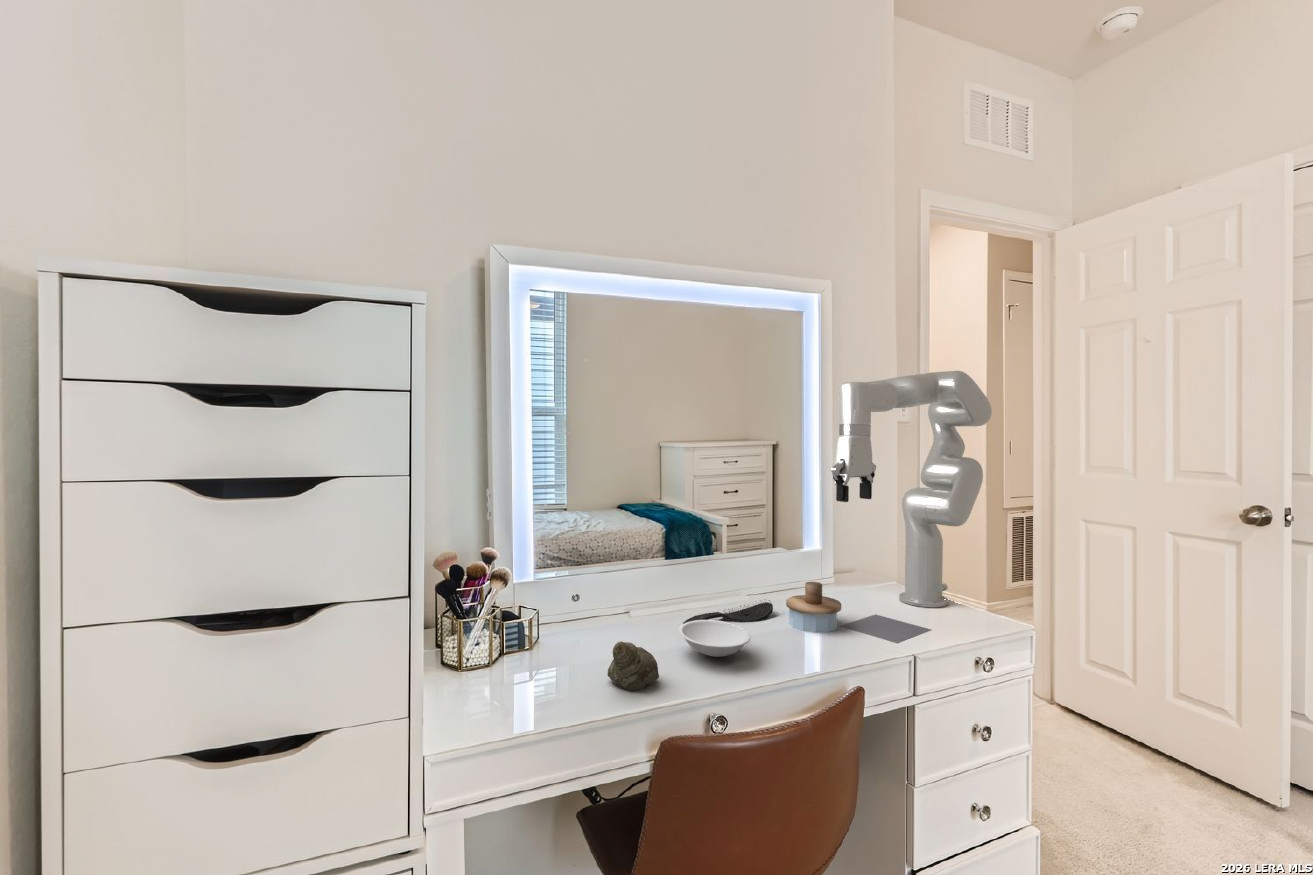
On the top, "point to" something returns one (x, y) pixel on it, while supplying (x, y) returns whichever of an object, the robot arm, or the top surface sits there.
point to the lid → (813, 601)
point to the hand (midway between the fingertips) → (854, 500)
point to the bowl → (813, 621)
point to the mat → (886, 628)
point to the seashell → (632, 666)
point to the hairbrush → (740, 614)
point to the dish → (714, 637)
